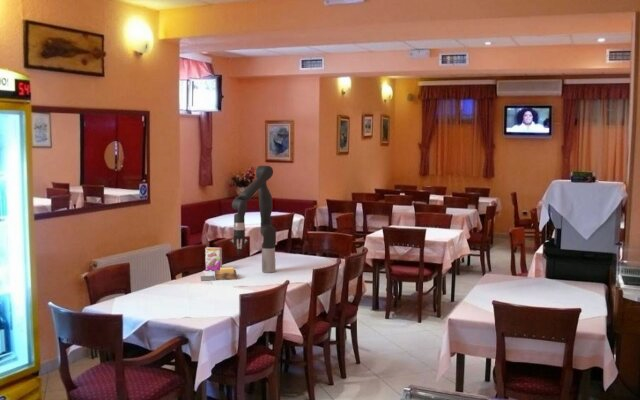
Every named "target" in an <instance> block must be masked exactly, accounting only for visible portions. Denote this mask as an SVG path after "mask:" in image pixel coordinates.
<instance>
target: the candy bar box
mask: <svg viewBox="0 0 640 400" xmlns="http://www.w3.org/2000/svg"><path fill="white" fill-rule="evenodd" d="M204 250H205V251H204V254H205V255H204V261H205V262H204V263H205V264H204V267H205V271H206V272H209V271H208V270H212V271H211V272H215V270H220V268H223V257H222V256H223V251H222V250H223V248H222V247H211V246H206V247H205V248H204Z"/></svg>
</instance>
